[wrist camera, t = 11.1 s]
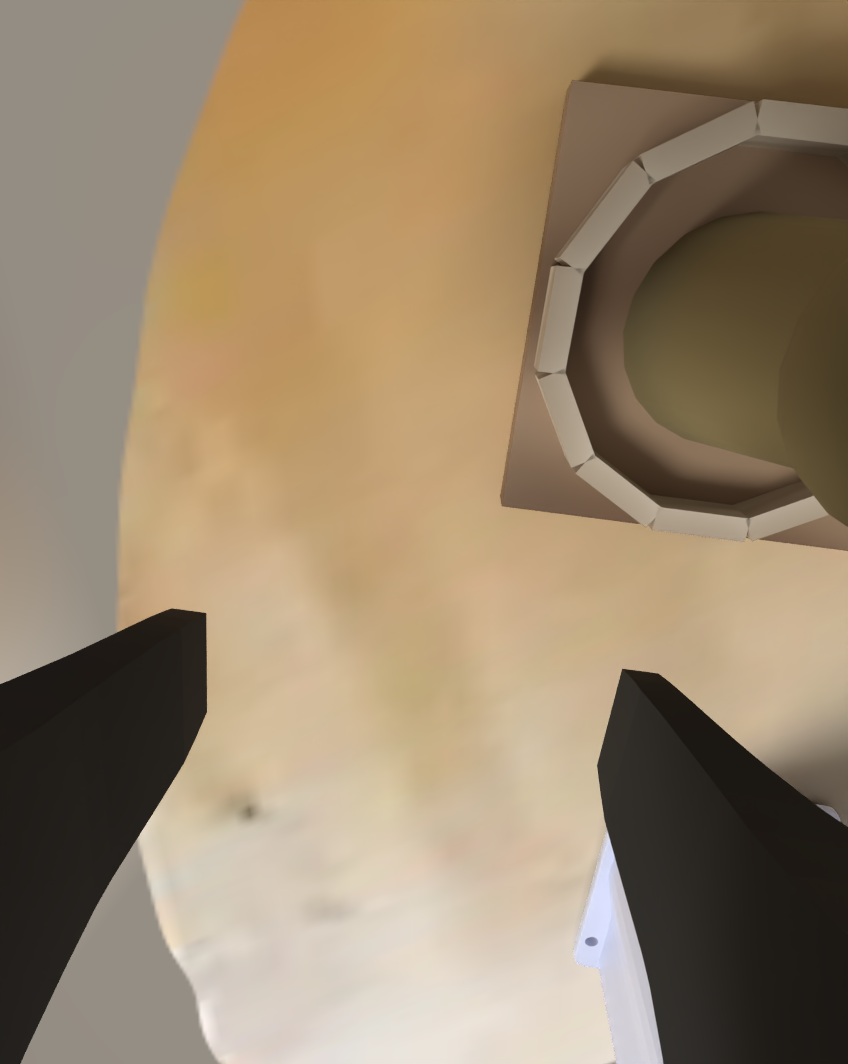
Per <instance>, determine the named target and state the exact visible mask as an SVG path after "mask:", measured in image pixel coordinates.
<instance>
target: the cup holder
mask: <svg viewBox="0 0 848 1064" xmlns="http://www.w3.org/2000/svg"><path fill="white" fill-rule="evenodd" d="M759 211H761V212H772V213H782V214H792V215H802V216H812V217H822V218H832V219H842V220H848V109H846V108H837V107H828V106H819V105H811V104H802V103H793V102H785V101H776V100H767V99H762V100H761V101H759V102H757V101H749V100H740V99H731V98H723V97H714V96H705V95H696V94H688V93H679V92H670V91H662V90H653V89H644V88H636V87H627V86H618V85H610V84H601V83H592V82H583V81H575V80H572V82H571V84H570V86H569V88H568V90H567V92H566V98H565V104H564V110H563V116H562V123H561V129H560V135H559V141H558V147H557V153H556V159H555V165H554V171H553V178H552V184H551V190H550V196H549V202H548V208H547V214H546V220H545V226H544V233H543V239H542V245H541V251H540V257H539V263H538V269H537V275H536V281H535V288H534V294H533V300H532V306H531V312H530V318H529V324H528V330H527V336H526V343H525V349H524V355H523V361H522V367H521V373H520V379H519V385H518V391H517V398H516V404H515V410H514V416H513V422H512V428H511V434H510V440H509V446H508V453H507V459H506V465H505V471H504V477H503V483H502V489H501V495H500V497H501V504H502V506H504V507H512V508H520V509H528V510H535V511H543V512H551V513H559V514H566V515H574V516H582V517H590V518H597V519H605V520H613V521H620V522H628V523H636V524H642V525H643V526H644V527H647V526H648V525H649V526H650V528H651V529H652V530H654V531H662V532H670V533H677V534H685V535H693V536H701V537H708V538H716V539H724V540H732V541H739V542H745V538H749V539H750V540H751V541H754V540H757V539H760V540H768V541H775V542H783V543H791V544H799V545H806V546H814V547H822V548H830V549H837V550H845V551H848V527H847V526H845V525H844V524H842V523H841V522H840V521H838V520H837V519H835V518H834V517H832V516H831V515H829V514H828V513H827V512H826V511H825V509H824V508H823V507H822V506H821V504H820V503H819V502H818V501H817V499H816V498H815V497H814V496H813V494H812V493H811V492H810V490H809V489H808V488H807V487H806V485H805V484H804V483H803V482H802V480H801V479H800V478H799V477H798V475H797V473H796V471H795V470H794V469H793V468H789V467H786V466H782V465H778V464H775V463H771V462H767V461H764V460H760V459H756V458H753V457H749V456H746V455H742V454H738V453H735V452H731V451H727V450H724V449H720V448H716V447H713V446H709V445H705V444H702V443H698V442H694V441H691V440H687V439H684V438H682V437H680V436H678V435H677V434H675V433H673V432H671V431H670V430H668V429H666V428H665V427H663V426H661V425H659V424H658V423H656V422H655V421H654V419H653V418H652V417H651V416H650V415H649V414H648V412H647V411H646V410H645V409H644V408H643V406H642V405H641V404H640V403H639V402H638V400H637V399H636V398H635V395H634V392H633V390H632V387H631V384H630V382H629V379H628V376H627V373H626V371H625V368H624V342H623V331H624V327H625V324H626V320H627V317H628V313H629V310H630V306H631V303H632V299H633V296H634V294H635V292H636V291H637V289H638V288H639V286H640V284H641V283H642V281H643V280H644V278H645V276H646V275H647V273H648V272H649V270H650V268H651V267H652V265H653V264H654V262H655V261H656V260H657V259H658V258H659V257H660V256H662V255H663V254H664V253H665V252H666V251H667V250H668V249H669V248H670V247H672V246H673V245H674V244H675V243H676V242H677V241H678V240H679V239H680V238H681V237H683V236H684V235H685V234H687V233H689V232H691V231H693V230H695V229H697V228H699V227H701V226H703V225H706V224H708V223H710V222H712V221H714V220H716V219H718V218H720V217H724V216H731V215H738V214H745V213H752V212H759Z"/></svg>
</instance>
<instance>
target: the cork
mask: <svg viewBox="0 0 848 1064" xmlns="http://www.w3.org/2000/svg"><path fill="white" fill-rule="evenodd" d="M623 342H624V368H625V371H626V373H627V376H628V379H629V382H630V384H631V387H632V390H633V392H634V395H635V398H636V399H637V400H638V402H639V403H640V404H641V405H642V406H643V408H644V409H645V410H646V411H647V412H648V414H649V415H650V416H651V417H652V418H653V419H654V421H655V422H656V423H658V424H659V425H661V426H663V427H665V428H666V429H668V430H670V431H671V432H673V433H675V434H677V435H678V436H680V437H682V438H684V439H687V440H691V441H694V442H698V443H702V444H705V445H709V446H713V447H716V448H720V449H724V450H727V451H731V452H735V453H738V454H742V455H746V456H749V457H753V458H756V459H760V460H764V461H767V462H771V463H775V464H778V465H782V466H786V467H789V468H793V469H794V470H795V471H796V473H797V475H798V477H799V478H800V479H801V480H802V482H803V483H804V484H805V485H806V487H807V488H808V489H809V490H810V492H811V493H812V494H813V496H814V497H815V498H816V499H817V501H818V502H819V503H820V504H821V506H822V507H823V508H824V509H825V511H826V512H827V513H828V514H829V515H831V516H832V517H834V518H835V519H837V520H838V521H840V522H841V523H842V524H844V525H845V526H847V527H848V220H842V219H832V218H822V217H812V216H802V215H792V214H782V213H772V212H761V211H759V212H752V213H745V214H738V215H731V216H724V217H720V218H718V219H716V220H714V221H712V222H710V223H708V224H706V225H703V226H701V227H699V228H697V229H695V230H693V231H691V232H689V233H687V234H685V235H684V236H683V237H681V238H680V239H679V240H678V241H677V242H676V243H675V244H674V245H673V246H672V247H670V248H669V249H668V250H667V251H666V252H665V253H664V254H663V255H662V256H660V257H659V258H658V259H657V260H656V261H655V262H654V264H653V265H652V267H651V268H650V270H649V272H648V273H647V275H646V276H645V278H644V280H643V281H642V283H641V284H640V286H639V288H638V289H637V291H636V292H635V294H634V296H633V299H632V303H631V306H630V310H629V313H628V317H627V320H626V324H625V327H624V331H623Z"/></svg>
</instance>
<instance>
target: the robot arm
mask: <svg viewBox="0 0 848 1064" xmlns="http://www.w3.org/2000/svg"><path fill="white" fill-rule="evenodd" d="M206 713H207V651H206V613H201V612H194V611H187V610H179V609H169V610H166V611H164V612H161V613H159V614H156V615H154V616H152V617H149V618H147V619H145V620H143V621H141V622H138V623H136V624H134V625H132V626H130V627H128V628H126V629H124V630H122V631H119V632H117V633H115V634H113V635H111V636H109V637H107V638H105V639H103V640H100V641H99V642H96V643H94V644H92V645H90V646H88V647H86V648H84V649H81V650H79V651H77V652H75V653H73V654H71V655H68V656H66V657H64V658H61V659H59V660H57V661H54V662H52V663H50V664H47V665H45V666H43V667H40V668H38V669H36V670H33V671H31V672H28V673H26V674H24V675H21V676H19V677H17V678H15V679H12V680H10V681H7V682H5V683H2V684H0V1064H20V1063H21V1061H22V1059H23V1056H24V1054H25V1052H26V1050H27V1048H28V1045H29V1043H30V1041H31V1039H32V1037H33V1035H34V1033H35V1031H36V1028H37V1026H38V1024H39V1022H40V1020H41V1018H42V1016H43V1014H44V1012H45V1009H46V1007H47V1005H48V1003H49V1001H50V999H51V997H52V995H53V992H54V990H55V988H56V986H57V984H58V982H59V980H60V978H61V976H62V973H63V971H64V969H65V967H66V965H67V963H68V961H69V959H70V957H71V955H72V953H73V951H74V949H75V947H76V945H77V943H78V941H79V939H80V937H81V935H82V933H83V931H84V929H85V927H86V925H87V923H88V921H89V919H90V917H91V915H92V913H93V911H94V909H95V907H96V906H97V904H98V902H99V900H100V898H101V897H102V895H103V893H104V892H105V890H106V888H107V886H108V885H109V882H110V881H111V879H112V877H113V876H114V874H115V873H116V871H117V870H118V868H119V866H120V865H121V863H122V862H123V860H124V859H125V857H126V855H127V854H128V852H129V851H130V849H131V847H132V846H133V844H134V843H135V841H136V839H137V838H138V836H139V835H140V833H141V831H142V830H143V828H144V827H145V825H146V823H147V822H148V820H149V819H150V817H151V816H152V814H153V812H154V811H155V809H156V808H157V806H158V804H159V803H160V801H161V800H162V798H163V796H164V795H165V793H166V791H167V790H168V788H169V787H170V785H171V783H172V782H173V780H174V778H175V777H176V775H177V774H178V772H179V770H180V769H181V767H182V765H183V764H184V762H185V760H186V758H187V755H188V753H189V751H190V749H191V747H192V745H193V743H194V740H195V738H196V736H197V734H198V731H199V729H200V727H201V724H202V722H203V720H204V717H205V715H206ZM597 768H598V775H599V783H600V791H601V799H602V805H603V812H604V818H605V823H606V827H607V830H606V833H605V837H604V840H603V844H602V848H601V851H600V855H599V858H598V862H597V866H596V869H595V873H594V876H593V880H592V884H591V887H590V891H589V894H588V898H587V901H586V905H585V909H584V912H583V916H582V919H581V923H580V927H579V930H578V934H577V937H576V941H575V945H574V948H573V954H574V960H575V961H576V963H578V964H579V965H581V966H585V967H592V968H599V974H600V979H601V984H602V990H603V995H604V1000H605V1006H606V1011H607V1016H608V1022H609V1027H610V1032H611V1038H612V1043H613V1048H614V1054H615V1059H616V1064H848V827H847V826H845V825H844V824H842V823H841V820H840V817H839V815H838V814H837V812H836V811H835V810H834V809H833V808H832V807H829V806H825V805H818V804H814V803H813V802H811V801H810V800H809V799H807V798H806V797H805V796H803V795H802V794H801V793H800V792H798V791H797V790H796V789H794V788H793V787H792V786H791V785H789V784H788V783H787V782H786V781H784V780H783V779H782V778H780V777H779V776H778V775H777V774H775V773H774V772H773V771H772V770H770V769H769V768H768V767H767V766H765V765H764V764H763V763H762V762H761V761H759V760H758V759H757V758H756V757H755V756H753V755H752V754H751V753H750V752H749V751H747V750H746V749H745V748H744V747H743V746H742V745H740V744H739V743H738V742H737V741H736V740H735V739H733V738H732V737H731V736H730V735H729V734H728V733H727V732H725V731H724V730H723V729H722V728H721V727H720V726H719V725H717V724H716V723H715V722H714V721H713V720H712V719H711V718H710V717H708V716H707V715H706V714H705V713H704V712H703V711H702V710H701V709H700V708H698V707H697V706H696V705H695V704H694V703H693V702H692V701H691V700H689V699H688V698H687V697H686V696H685V695H684V694H683V693H681V692H680V691H679V690H678V689H677V688H676V687H675V686H673V685H672V684H671V683H670V682H669V681H667V680H666V679H665V678H663V677H662V676H661V675H659V674H657V673H650V672H642V671H635V670H627V669H622V672H621V676H620V680H619V684H618V687H617V691H616V695H615V699H614V703H613V707H612V710H611V714H610V718H609V722H608V726H607V730H606V734H605V737H604V741H603V745H602V749H601V753H600V757H599V760H598V764H597Z"/></svg>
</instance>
